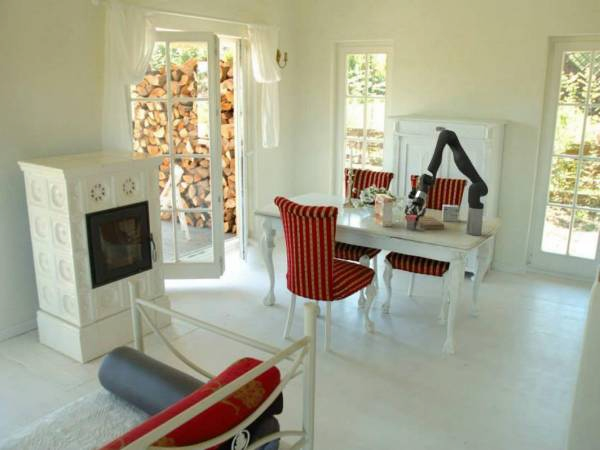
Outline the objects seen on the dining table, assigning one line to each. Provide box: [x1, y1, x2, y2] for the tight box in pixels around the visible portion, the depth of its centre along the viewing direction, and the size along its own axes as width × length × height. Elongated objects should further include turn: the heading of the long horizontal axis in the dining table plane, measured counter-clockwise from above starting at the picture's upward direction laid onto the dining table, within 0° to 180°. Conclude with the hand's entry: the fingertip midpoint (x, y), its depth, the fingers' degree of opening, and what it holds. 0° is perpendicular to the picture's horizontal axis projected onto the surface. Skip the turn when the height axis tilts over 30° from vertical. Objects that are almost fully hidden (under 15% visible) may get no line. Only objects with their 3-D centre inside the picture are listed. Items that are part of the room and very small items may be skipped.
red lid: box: [405, 214, 418, 222], centre depth 374 cm, size 6×6×3 cm
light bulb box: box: [441, 204, 460, 223], centre depth 401 cm, size 11×7×11 cm, turn 84°
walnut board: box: [417, 216, 445, 230], centre depth 387 cm, size 22×14×3 cm, turn 10°
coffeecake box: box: [373, 193, 394, 228], centre depth 386 cm, size 15×7×20 cm, turn 14°
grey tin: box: [406, 220, 418, 231], centre depth 375 cm, size 5×5×8 cm
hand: (411, 219), depth 373 cm, fingers closed on red lid, 6 cm apart
